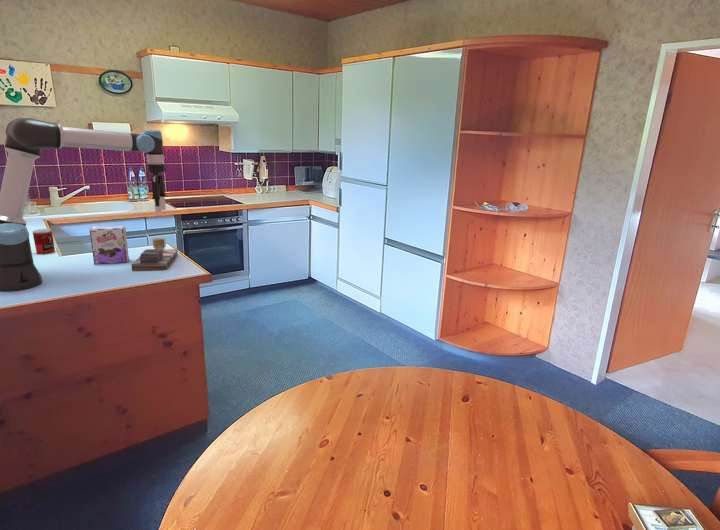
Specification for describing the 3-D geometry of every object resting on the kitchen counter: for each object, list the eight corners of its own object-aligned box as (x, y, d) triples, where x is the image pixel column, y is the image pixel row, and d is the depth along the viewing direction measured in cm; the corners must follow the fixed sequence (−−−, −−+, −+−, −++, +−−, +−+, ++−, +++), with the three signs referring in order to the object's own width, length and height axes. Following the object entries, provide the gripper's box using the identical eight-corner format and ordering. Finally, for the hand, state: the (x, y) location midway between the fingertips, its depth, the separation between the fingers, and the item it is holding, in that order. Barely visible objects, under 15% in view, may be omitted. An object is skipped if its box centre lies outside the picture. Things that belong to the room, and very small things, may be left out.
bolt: (161, 255, 212) (160, 242, 211) (150, 255, 211) (149, 242, 210) (166, 249, 222) (165, 237, 220) (155, 250, 221) (154, 238, 219)
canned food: (46, 254, 221) (42, 232, 218) (32, 253, 222) (28, 231, 219) (59, 251, 228) (55, 229, 225) (45, 250, 229) (41, 228, 226)
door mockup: (166, 270, 201) (164, 255, 199) (132, 271, 198) (130, 255, 196) (177, 255, 225) (176, 241, 223) (147, 255, 223) (146, 242, 221)
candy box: (93, 264, 206) (88, 229, 202) (97, 261, 212) (92, 226, 207) (127, 263, 210) (122, 228, 206) (129, 259, 215) (125, 225, 211)
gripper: (159, 165, 208) (164, 214, 214) (168, 162, 227) (173, 207, 233) (141, 164, 206) (147, 214, 213) (152, 162, 226) (157, 208, 232)
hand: (160, 211), depth 223 cm, fingers open, 8 cm apart
